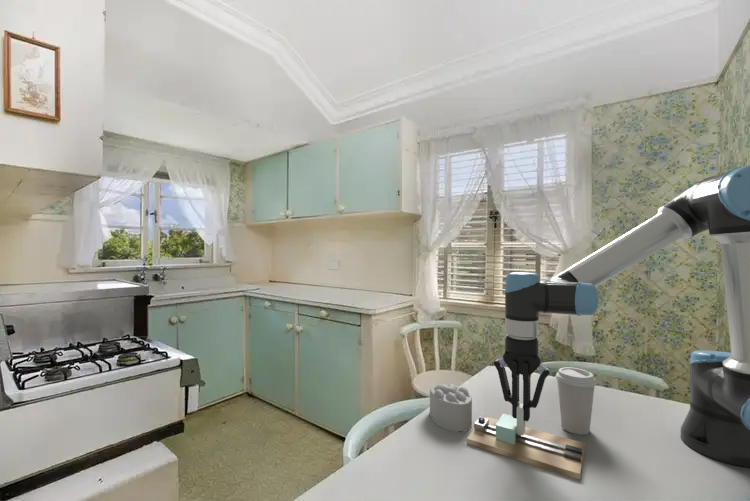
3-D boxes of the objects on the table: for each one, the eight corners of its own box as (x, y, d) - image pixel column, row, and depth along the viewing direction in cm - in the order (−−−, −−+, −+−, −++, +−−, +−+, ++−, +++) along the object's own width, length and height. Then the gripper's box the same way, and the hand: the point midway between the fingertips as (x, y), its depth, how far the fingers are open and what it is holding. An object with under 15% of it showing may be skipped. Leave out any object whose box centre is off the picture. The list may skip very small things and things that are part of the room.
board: (584, 447, 83) (584, 442, 83) (580, 479, 72) (580, 474, 72) (483, 420, 97) (483, 415, 97) (466, 443, 85) (466, 438, 85)
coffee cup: (603, 440, 87) (603, 380, 87) (561, 435, 89) (561, 377, 89) (587, 421, 96) (588, 367, 96) (550, 418, 98) (550, 365, 98)
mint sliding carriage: (520, 431, 88) (520, 418, 88) (514, 445, 82) (514, 430, 82) (502, 426, 91) (503, 413, 91) (495, 439, 85) (495, 424, 85)
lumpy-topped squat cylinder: (458, 407, 105) (458, 378, 105) (481, 429, 92) (481, 396, 92) (425, 411, 102) (426, 381, 102) (444, 434, 90) (444, 400, 90)
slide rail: (581, 452, 80) (581, 441, 80) (580, 462, 76) (580, 451, 76) (479, 423, 93) (479, 414, 93) (474, 430, 89) (474, 421, 89)
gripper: (553, 336, 84) (552, 433, 84) (498, 329, 91) (497, 418, 92) (548, 343, 78) (548, 448, 78) (490, 335, 85) (489, 431, 85)
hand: (520, 432), depth 85 cm, fingers closed
